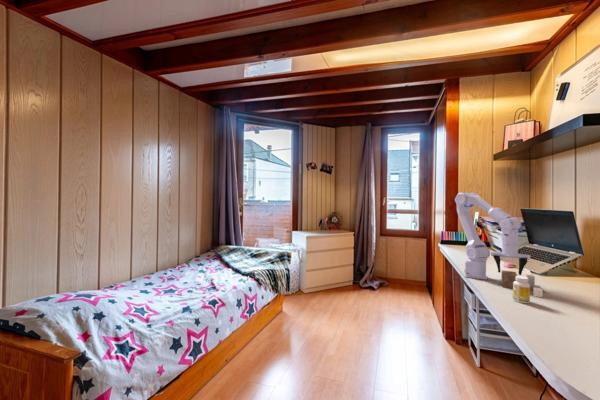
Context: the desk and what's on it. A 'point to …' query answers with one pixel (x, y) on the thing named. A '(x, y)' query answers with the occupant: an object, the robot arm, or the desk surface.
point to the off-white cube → (537, 292)
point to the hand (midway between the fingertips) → (509, 273)
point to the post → (532, 282)
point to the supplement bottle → (521, 290)
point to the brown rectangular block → (508, 279)
